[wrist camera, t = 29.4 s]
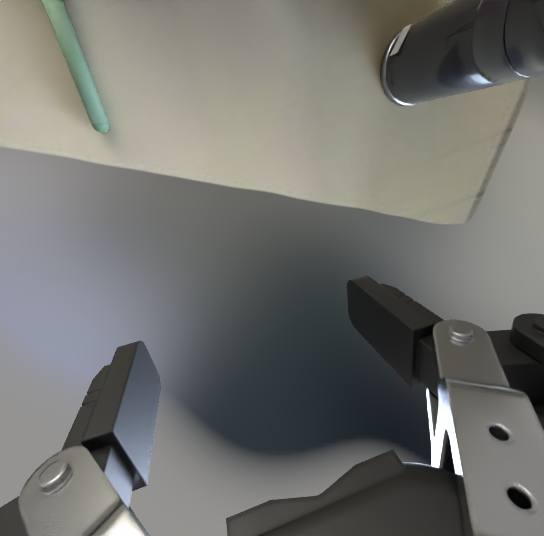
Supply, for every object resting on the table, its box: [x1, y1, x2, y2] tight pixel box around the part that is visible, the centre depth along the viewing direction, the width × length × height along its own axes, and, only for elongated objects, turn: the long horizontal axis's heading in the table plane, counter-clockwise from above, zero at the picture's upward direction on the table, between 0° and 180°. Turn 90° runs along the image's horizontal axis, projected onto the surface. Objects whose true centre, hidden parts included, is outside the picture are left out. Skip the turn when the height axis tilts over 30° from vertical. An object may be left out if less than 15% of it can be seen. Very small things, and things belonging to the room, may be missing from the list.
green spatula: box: [42, 0, 110, 133], centre depth 28 cm, size 21×5×2 cm, turn 10°
